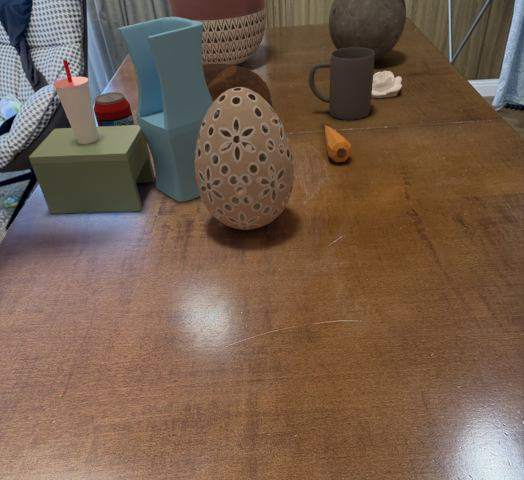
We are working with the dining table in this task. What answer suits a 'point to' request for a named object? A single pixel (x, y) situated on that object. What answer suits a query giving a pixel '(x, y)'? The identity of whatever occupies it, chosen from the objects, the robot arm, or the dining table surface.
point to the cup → (77, 106)
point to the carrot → (337, 145)
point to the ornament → (243, 161)
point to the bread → (233, 80)
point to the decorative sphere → (367, 24)
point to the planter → (225, 27)
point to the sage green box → (93, 170)
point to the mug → (348, 82)
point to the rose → (385, 84)
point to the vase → (170, 97)
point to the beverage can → (112, 110)
